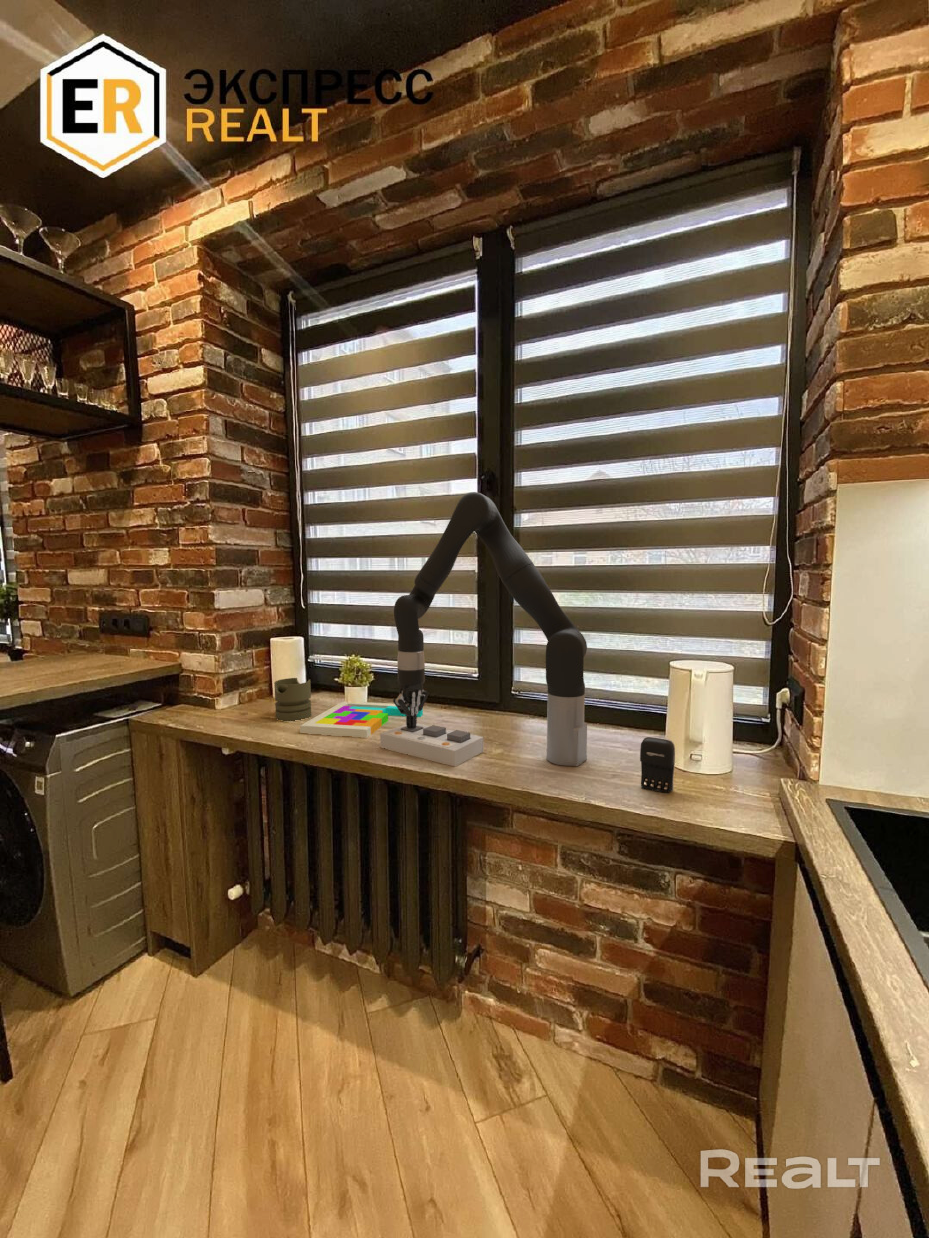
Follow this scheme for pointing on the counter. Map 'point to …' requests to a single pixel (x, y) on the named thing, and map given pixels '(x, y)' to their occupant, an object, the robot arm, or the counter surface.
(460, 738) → the button near
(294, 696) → the piston
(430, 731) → the button middle
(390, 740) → the button panel
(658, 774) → the battery charger
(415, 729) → the button far
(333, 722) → the puzzle game
